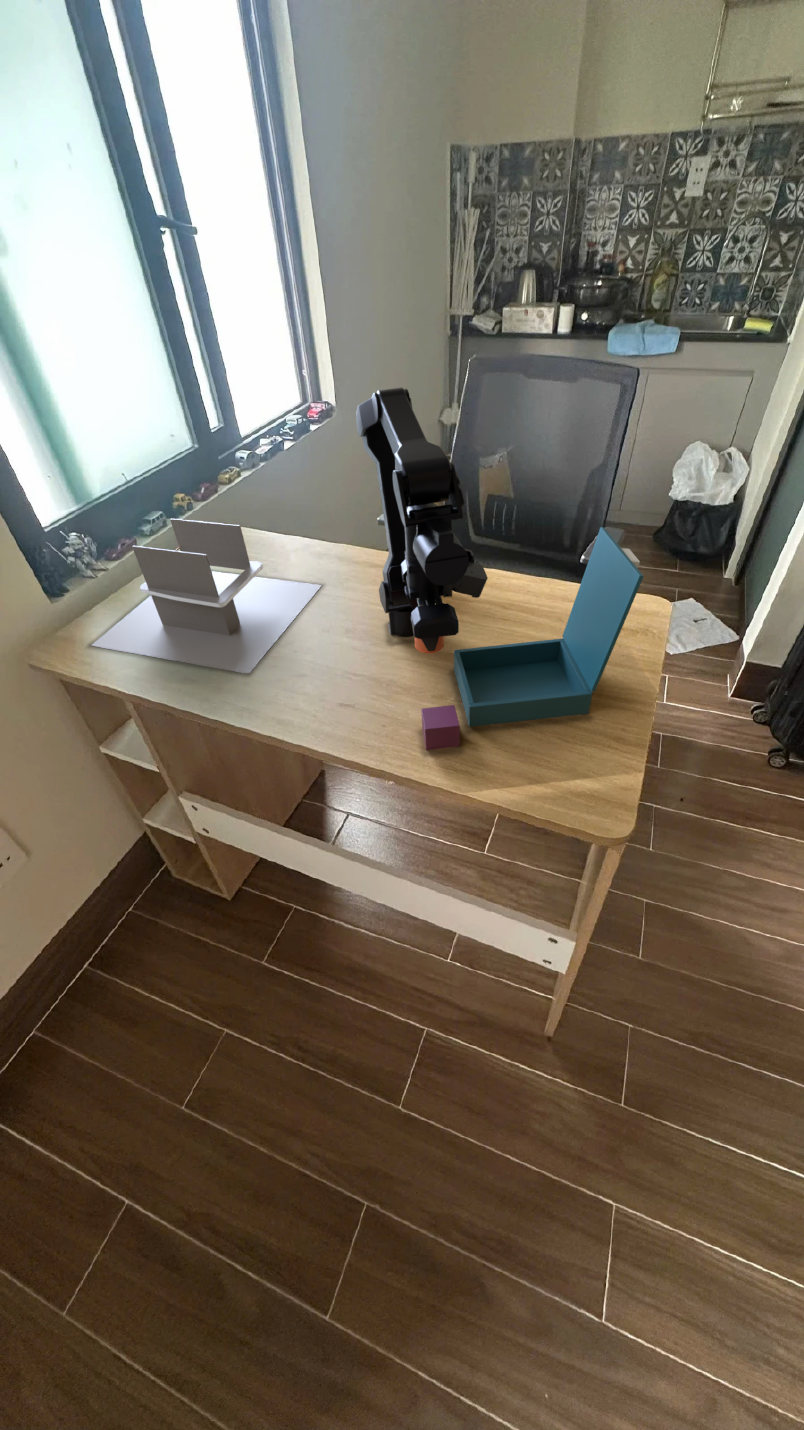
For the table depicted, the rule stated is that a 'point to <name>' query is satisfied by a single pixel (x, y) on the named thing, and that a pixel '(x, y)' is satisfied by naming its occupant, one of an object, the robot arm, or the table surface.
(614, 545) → the lunchbox lid
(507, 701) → the box
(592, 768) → the table surface
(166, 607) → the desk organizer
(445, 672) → the table surface
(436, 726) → the purple cube
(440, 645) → the orange cylinder
